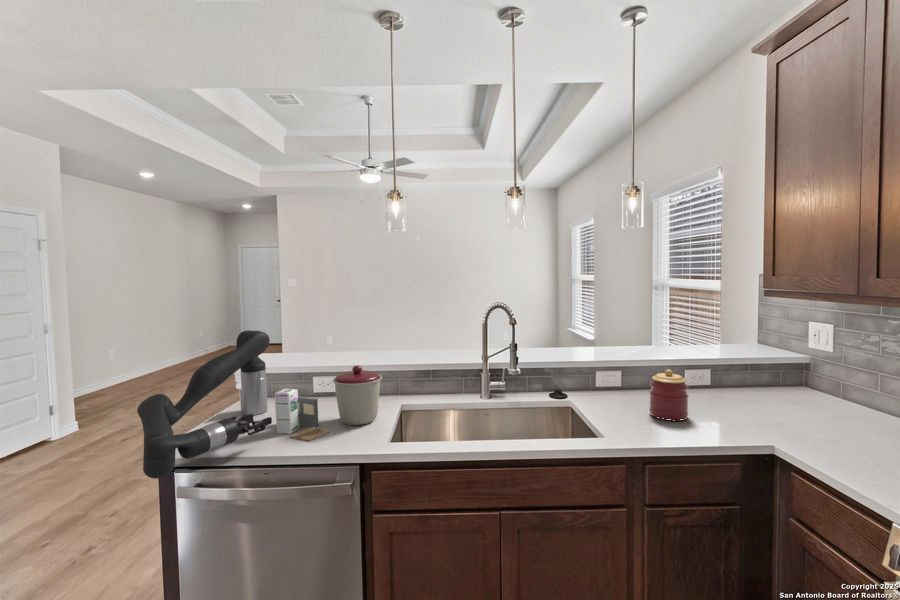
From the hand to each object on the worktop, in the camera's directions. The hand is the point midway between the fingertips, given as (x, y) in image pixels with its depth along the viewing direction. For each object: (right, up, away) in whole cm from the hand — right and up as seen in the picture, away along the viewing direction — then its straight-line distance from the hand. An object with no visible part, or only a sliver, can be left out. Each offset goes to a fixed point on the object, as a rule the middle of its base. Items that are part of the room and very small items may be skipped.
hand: (261, 418), depth 143 cm
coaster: (+14, -7, +6) cm, 17 cm away
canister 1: (+28, -7, +19) cm, 35 cm away
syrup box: (+5, -8, +10) cm, 14 cm away
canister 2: (+144, -4, +18) cm, 145 cm away
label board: (+8, -7, +16) cm, 19 cm away
